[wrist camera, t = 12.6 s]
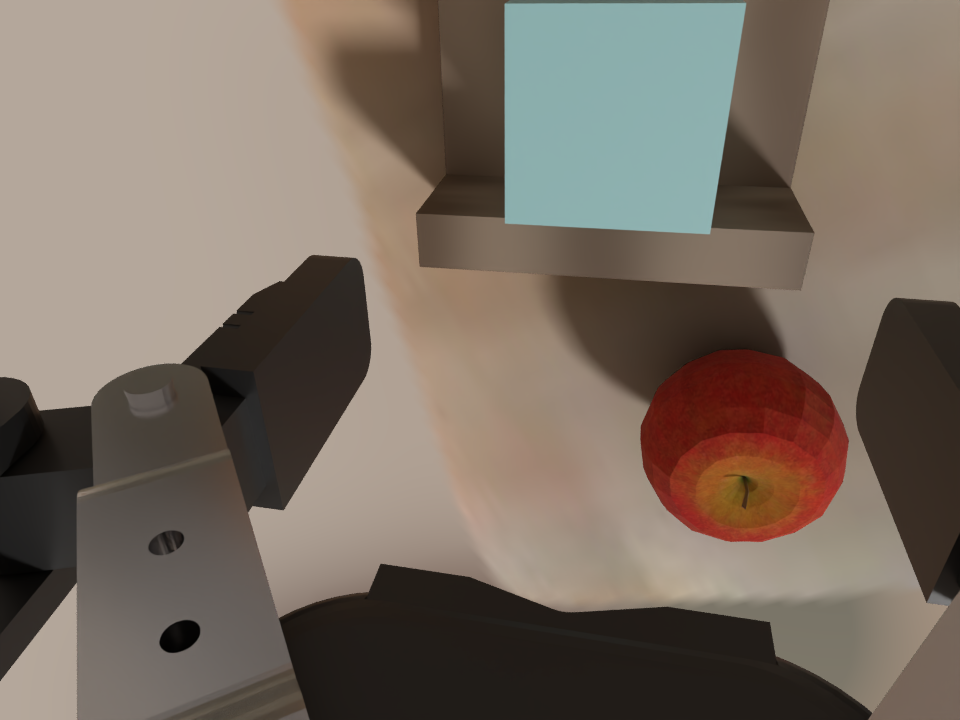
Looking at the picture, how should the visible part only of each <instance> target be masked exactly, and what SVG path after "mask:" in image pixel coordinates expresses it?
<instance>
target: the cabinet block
mask: <svg viewBox="0 0 960 720" xmlns="http://www.w3.org/2000/svg"><path fill="white" fill-rule="evenodd" d="M745 9H746V2H745V1H743V0H510V1H508V2H506V3H505V224H523V225H542V226H561V227H580V228H599V229H618V230H637V231H656V232H675V233H694V234H710V231H711V224H712V218H713V212H714V205H715V199H716V193H717V186H718V180H719V174H720V167H721V161H722V155H723V148H724V142H725V136H726V129H727V123H728V117H729V110H730V104H731V98H732V91H733V85H734V79H735V72H736V66H737V60H738V53H739V47H740V41H741V34H742V28H743V22H744V15H745Z"/></svg>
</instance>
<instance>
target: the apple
mask: <svg viewBox="0 0 960 720" xmlns="http://www.w3.org/2000/svg"><path fill="white" fill-rule="evenodd" d="M848 443H849V440H848V437H847V434H846V431H845V428H844V425H843V422H842V420H841V418H840V416H839V414H838V412H837V410H836V408H835V405H834V403H833V401H832V399H831V397H830V395H829V394H828V393H827V392H826V391H825V390H824V388H823V387H822V386H821V385H820V384H819V383H818V382H816V381H815V380H814V379H813V378H811V377H810V376H809V375H808V374H806V373H805V372H803V371H802V370H801V369H799V368H798V367H796V366H795V365H793V364H792V363H791V362H789V361H788V360H786V359H785V358H783V357H778V356H774V355H770V354H766V353H761V352H757V351H753V350H748V349H738V350H718V351H716V352H713V353H711V354H708V355H706V356H703V357H701V358H698V359H696V360H693V361H691V362H689V363H687V364H686V365H684V366H683V367H682V368H681V369H679V370H678V371H677V372H675V373H674V374H673V375H672V376H670V377H669V378H668V379H666V380H665V381H664V382H663V383H662V384H661V385H660V386H659V387H658V389H657V391H656V393H655V396H654V398H653V400H652V402H651V404H650V407H649V409H648V411H647V413H646V416H645V418H644V420H643V422H642V424H641V449H642V458H643V468H644V470H645V473H646V475H647V478H648V480H649V481H650V483H651V485H652V487H653V488H654V490H655V492H656V494H657V496H658V497H659V499H660V501H661V503H662V504H663V505H664V507H665V508H666V509H667V510H668V511H669V512H670V513H671V514H672V515H674V516H675V517H676V518H677V519H679V520H680V521H681V522H682V523H683V524H685V525H686V526H687V527H688V528H690V529H691V530H692V531H695V532H699V533H702V534H705V535H708V536H712V537H715V538H718V539H721V540H725V541H730V542H736V541H751V542H763V541H766V540H770V539H773V538H777V537H780V536H784V535H788V534H791V533H795V532H796V531H798V530H800V529H801V528H803V527H805V526H806V525H808V524H809V523H811V522H813V521H814V520H816V519H817V518H819V517H821V516H822V515H823V513H824V512H825V510H826V509H827V507H828V505H829V504H830V502H831V500H832V499H833V497H834V496H835V494H836V492H837V491H838V489H839V487H840V486H841V484H842V482H843V478H844V473H845V467H846V459H847V451H848Z"/></svg>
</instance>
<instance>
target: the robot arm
mask: <svg viewBox="0 0 960 720" xmlns="http://www.w3.org/2000/svg"><path fill="white" fill-rule="evenodd" d="M370 356H371V339H370V330H369V321H368V312H367V302H366V293H365V285H364V276H363V270H362V266H361V264H360V262H359V261H358V259H356V258H348V257H334V256H319V255H312V256H309V257H308V258H307V259H306V260H305V261H304V262H303V263H302V264H301V265H300V266H299V267H298V268H297V269H296V270H295V271H294V272H293V273H292V274H291V275H290V276H289V277H288V278H287V279H286V280H285V281H284V282H282V281H279V282H277V283H275V284H273V285H271V286H269V287H267V288H265V289H263V290H261V291H259V292H257V293H255V294H254V295H252V296H251V297H250V298H249V299H248V300H247V301H246V302H245V303H244V304H243V305H242V306H241V307H240V308H239V309H238V310H237V314H233V315H231V316H230V317H229V318H228V320H226V321H225V322H224V323H223V327H219V328H218V329H217V330H216V331H215V332H214V333H213V334H212V335H211V336H210V337H209V338H208V339H207V340H206V341H205V342H203V344H202V345H200V346H199V347H198V348H197V349H196V350H195V351H194V352H193V353H192V354H191V355H190V356H189V357H188V358H187V359H186V360H185V361H184V362H183V363H182V364H160V365H152V366H147V367H143V368H140V369H136V370H134V371H131V372H128V373H126V374H124V375H121V376H119V377H117V378H116V379H114V380H112V381H110V382H109V383H108V384H106V385H105V386H104V387H102V388H101V389H100V390H99V391H98V393H97V394H96V395H95V396H94V399H93V401H92V405H91V406H85V407H75V408H64V409H53V410H43V411H39V410H38V408H37V405H36V403H35V400H34V398H33V396H32V393H31V391H30V389H29V386H28V385H27V384H26V383H24V382H22V381H21V380H17V379H14V378H7V377H0V681H1V679H2V678H3V677H4V675H5V674H6V673H7V671H8V670H9V669H10V668H11V666H12V665H13V664H14V663H15V661H16V660H17V659H18V657H19V656H20V655H21V654H22V652H23V651H24V650H25V648H26V647H27V646H28V645H29V643H30V642H31V641H32V639H33V638H34V637H35V636H36V634H37V633H38V632H39V630H40V629H41V628H42V627H43V625H44V624H45V623H46V621H47V620H48V619H49V618H50V616H51V615H52V614H53V612H54V611H55V610H56V609H57V607H58V606H59V605H60V603H61V602H62V601H63V600H64V598H65V597H66V596H67V594H68V593H69V592H70V591H71V589H72V588H73V587H74V585H75V584H76V583H77V720H960V307H959V306H958V305H957V304H956V303H954V302H947V301H933V300H919V299H905V298H894V299H892V300H891V301H890V302H889V303H888V305H887V307H886V309H885V311H884V313H883V316H882V319H881V322H880V325H879V328H878V331H877V335H876V338H875V341H874V344H873V347H872V350H871V353H870V356H869V360H868V363H867V366H866V369H865V372H864V375H863V378H862V381H861V384H860V388H859V391H858V396H857V404H856V420H857V426H858V430H859V433H860V436H861V438H862V441H863V443H864V446H865V448H866V451H867V453H868V456H869V458H870V461H871V463H872V466H873V468H874V471H875V473H876V476H877V479H878V481H879V484H880V486H881V489H882V491H883V494H884V496H885V499H886V501H887V504H888V506H889V509H890V511H891V514H892V516H893V519H894V521H895V524H896V526H897V529H898V532H899V534H900V537H901V539H902V542H903V544H904V547H905V549H906V552H907V554H908V557H909V559H910V562H911V564H912V567H913V569H914V572H915V574H916V577H917V580H918V582H919V585H920V587H921V590H922V592H923V595H924V597H925V600H926V602H927V603H932V604H939V605H946V606H948V608H947V609H946V611H945V612H944V613H943V615H942V616H941V618H940V619H939V621H938V622H937V623H936V625H935V626H934V628H933V629H932V630H931V632H930V633H929V635H928V636H927V638H926V639H925V640H924V642H923V643H922V645H921V646H920V647H919V649H918V650H917V651H916V653H915V654H914V656H913V657H912V659H911V660H910V662H909V663H908V664H907V666H906V667H905V668H904V670H903V671H902V673H901V674H900V676H899V677H898V678H897V680H896V681H895V682H894V684H893V686H892V687H891V688H890V689H889V691H888V693H887V694H886V695H885V697H884V698H883V699H882V701H881V702H880V704H879V705H878V706H877V708H876V709H875V711H874V712H873V713H872V712H870V711H869V710H868V709H867V708H866V707H865V706H863V705H862V704H860V703H859V702H858V701H856V700H855V699H853V698H852V697H851V696H849V695H848V694H846V693H845V692H843V691H842V690H841V689H839V688H838V687H836V686H834V685H833V684H831V683H829V682H828V681H826V680H824V679H822V678H821V677H819V676H817V675H815V674H814V673H811V672H810V671H808V670H806V669H804V668H801V667H799V666H797V665H795V664H793V663H791V662H789V661H786V660H784V659H781V658H779V657H776V656H775V650H774V644H773V639H772V633H771V626H770V622H764V621H758V620H751V619H745V618H737V617H731V616H724V615H718V614H711V613H705V612H698V611H692V610H685V609H678V608H672V607H656V608H641V609H623V610H607V611H590V612H572V613H571V612H561V611H557V610H554V609H551V608H549V607H546V606H543V605H541V604H538V603H536V602H533V601H530V600H528V599H525V598H523V597H520V596H517V595H515V594H512V593H510V592H507V591H504V590H502V589H499V588H497V587H494V586H491V585H489V584H486V583H483V582H481V581H478V580H476V579H473V578H471V577H465V576H458V575H452V574H445V573H439V572H432V571H426V570H419V569H412V568H406V567H398V566H392V565H386V564H380V567H379V569H378V572H377V574H376V576H375V579H374V581H373V584H372V586H371V588H370V591H369V592H366V593H356V594H349V595H344V596H338V597H334V598H330V599H326V600H323V601H319V602H316V603H313V604H310V605H307V606H305V607H302V608H300V609H297V610H294V611H292V612H290V613H288V614H286V615H284V616H282V617H280V618H278V614H277V611H276V608H275V604H274V601H273V597H272V594H271V590H270V587H269V584H268V580H267V577H266V573H265V570H264V566H263V563H262V559H261V556H260V553H259V549H258V546H257V542H256V539H255V535H254V532H253V528H252V525H251V522H250V518H249V515H248V512H249V510H250V509H251V507H252V506H256V507H263V508H271V509H278V510H284V509H285V507H286V505H287V504H288V502H289V501H290V499H291V497H292V496H293V494H294V492H295V491H296V489H297V488H298V486H299V484H300V483H301V481H302V480H303V478H304V476H305V474H306V473H307V471H308V470H309V468H310V467H311V465H312V463H313V462H314V460H315V458H316V457H317V455H318V453H319V452H320V450H321V449H322V447H323V445H324V444H325V442H326V440H327V439H328V437H329V435H330V434H331V432H332V431H333V429H334V427H335V426H336V424H337V422H338V421H339V419H340V418H341V416H342V414H343V413H344V411H345V410H346V408H347V406H348V405H349V403H350V401H351V400H352V398H353V397H354V395H355V393H356V392H357V390H358V388H359V387H360V385H361V383H362V382H363V380H364V378H365V377H366V374H367V371H368V367H369V363H370Z"/></svg>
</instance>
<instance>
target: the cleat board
mask: <svg viewBox="0 0 960 720" xmlns="http://www.w3.org/2000/svg"><path fill="white" fill-rule="evenodd" d="M508 1H510V0H438V11H439V32H440V54H441V75H442V96H443V117H444V139H445V160H446V176H445V177H444V178H443V179H442V181H441V182H440V183H439V185H438V186H437V187H436V188H435V190H434V191H433V192H432V194H431V195H430V196H429V197H428V199H427V200H426V201H425V203H424V204H423V205H422V206H421V208H420V209H419V210H418V212H417V213H416V221H417V235H418V249H419V263H420V267H433V268H449V269H465V270H481V271H497V272H513V273H529V274H545V275H561V276H577V277H593V278H609V279H625V280H641V281H657V282H673V283H689V284H705V285H721V286H737V287H753V288H770V289H786V290H801V288H802V284H803V279H804V275H805V271H806V267H807V262H808V258H809V254H810V250H811V245H812V241H813V237H814V231H813V230H812V228H811V226H810V224H809V222H808V220H807V218H806V216H805V214H804V213H803V211H802V209H801V207H800V205H799V203H798V201H797V199H796V197H795V196H794V194H793V192H792V190H791V183H792V178H793V173H794V169H795V164H796V159H797V154H798V149H799V145H800V140H801V135H802V130H803V126H804V121H805V116H806V111H807V106H808V102H809V97H810V92H811V87H812V83H813V78H814V73H815V68H816V64H817V59H818V54H819V49H820V44H821V40H822V35H823V30H824V25H825V21H826V16H827V11H828V6H829V2H830V0H743V1H745V2H746V9H745V15H744V22H743V28H742V34H741V41H740V47H739V53H738V60H737V66H736V72H735V79H734V85H733V91H732V98H731V104H730V110H729V117H728V123H727V129H726V136H725V142H724V148H723V155H722V161H721V167H720V174H719V180H718V186H717V193H716V199H715V205H714V212H713V218H712V224H711V231H710V234H694V233H675V232H656V231H637V230H618V229H599V228H580V227H561V226H542V225H523V224H505V3H506V2H508Z"/></svg>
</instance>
